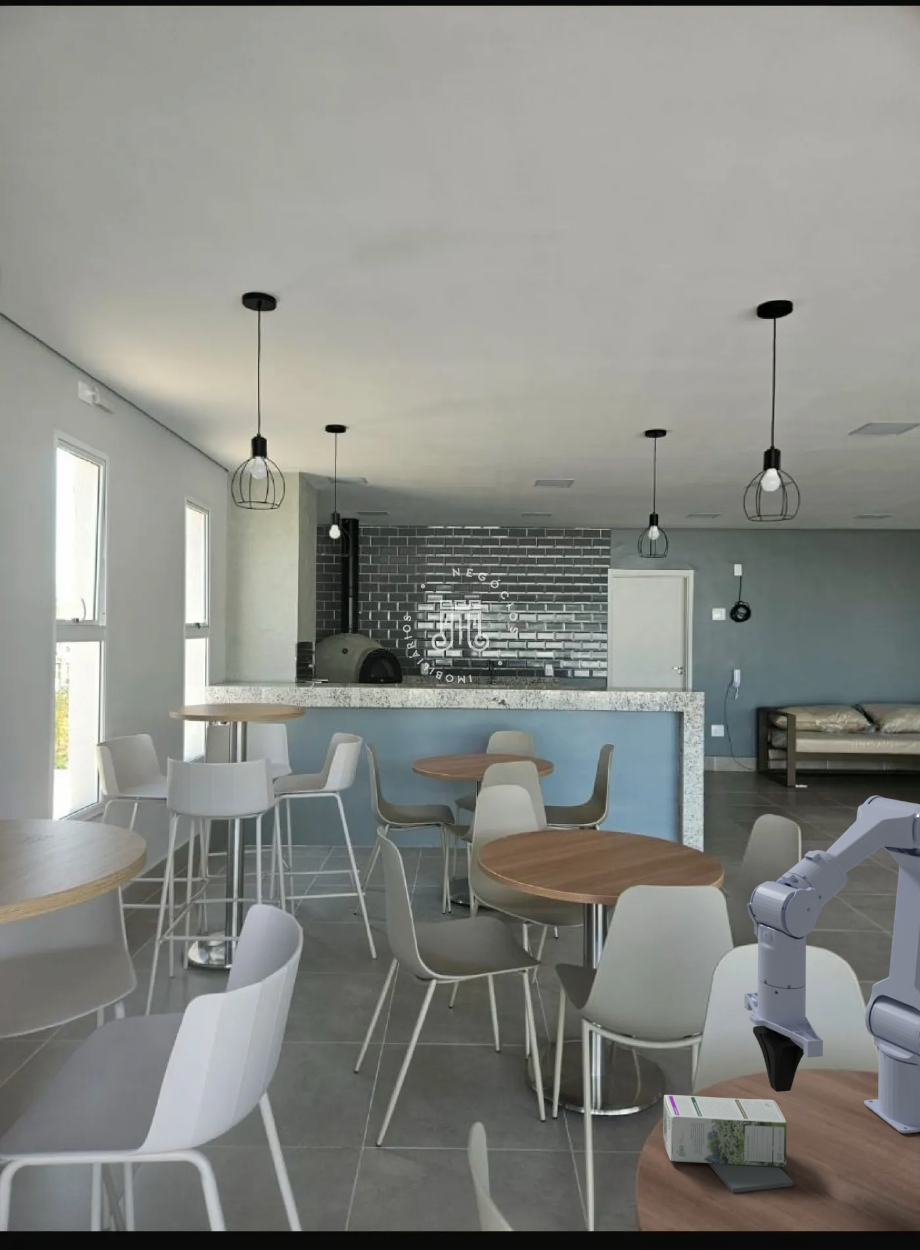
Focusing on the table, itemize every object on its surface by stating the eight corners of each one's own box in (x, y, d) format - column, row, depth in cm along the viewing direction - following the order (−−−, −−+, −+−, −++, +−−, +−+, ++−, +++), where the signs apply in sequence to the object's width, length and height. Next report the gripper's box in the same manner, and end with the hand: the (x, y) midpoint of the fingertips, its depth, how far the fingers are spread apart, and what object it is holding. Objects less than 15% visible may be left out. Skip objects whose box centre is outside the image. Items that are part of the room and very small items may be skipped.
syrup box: (774, 1098, 114) (661, 1092, 115) (788, 1123, 108) (669, 1116, 109) (774, 1142, 114) (661, 1135, 115) (787, 1169, 108) (669, 1162, 109)
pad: (753, 1143, 114) (753, 1139, 114) (793, 1185, 105) (793, 1181, 105) (696, 1149, 113) (696, 1145, 113) (732, 1192, 104) (732, 1188, 104)
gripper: (724, 961, 117) (723, 1063, 117) (785, 1005, 103) (784, 1122, 102) (771, 958, 118) (771, 1059, 118) (838, 1001, 104) (838, 1116, 104)
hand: (780, 1088), depth 110 cm, fingers closed
